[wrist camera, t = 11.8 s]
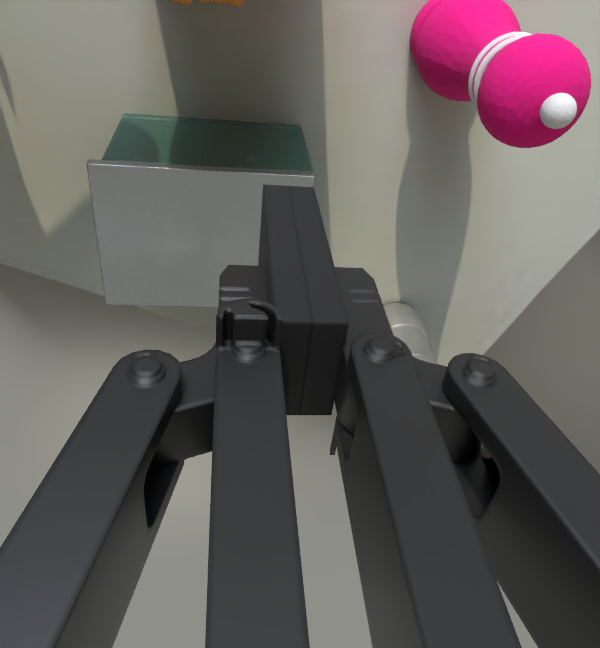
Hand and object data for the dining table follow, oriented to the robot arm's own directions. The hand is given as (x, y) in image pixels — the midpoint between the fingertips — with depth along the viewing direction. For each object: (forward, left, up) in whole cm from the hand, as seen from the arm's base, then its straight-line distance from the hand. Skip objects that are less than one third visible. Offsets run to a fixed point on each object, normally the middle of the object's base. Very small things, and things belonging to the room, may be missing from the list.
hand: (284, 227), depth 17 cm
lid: (+4, -13, -23) cm, 26 cm away
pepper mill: (+13, +8, -33) cm, 36 cm away
